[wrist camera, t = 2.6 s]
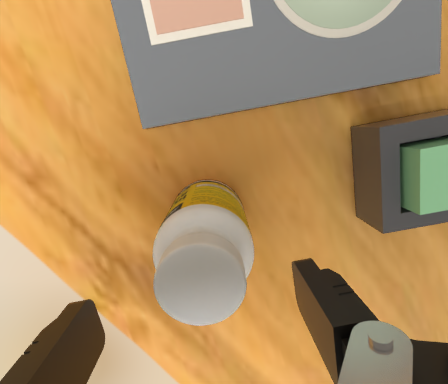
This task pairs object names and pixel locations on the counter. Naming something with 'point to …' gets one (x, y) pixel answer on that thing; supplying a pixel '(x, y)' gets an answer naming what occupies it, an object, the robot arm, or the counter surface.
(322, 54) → the picture board
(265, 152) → the counter surface
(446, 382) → the robot arm
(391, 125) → the button housing
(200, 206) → the supplement bottle
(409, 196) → the button
